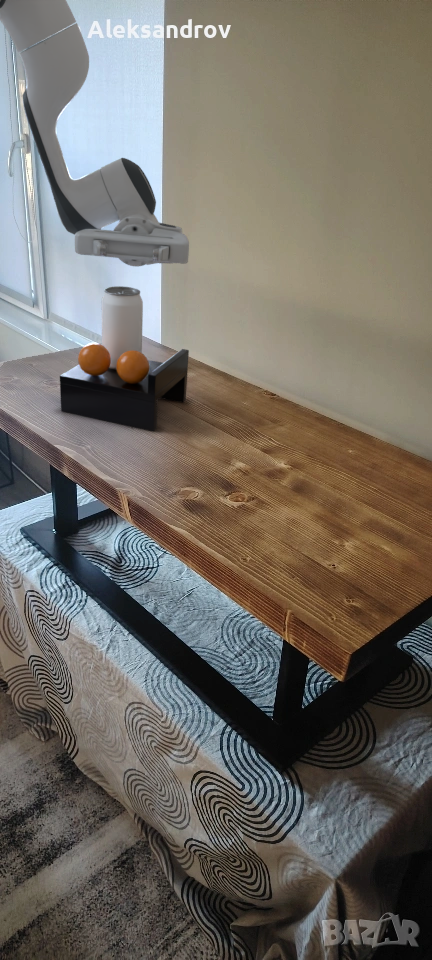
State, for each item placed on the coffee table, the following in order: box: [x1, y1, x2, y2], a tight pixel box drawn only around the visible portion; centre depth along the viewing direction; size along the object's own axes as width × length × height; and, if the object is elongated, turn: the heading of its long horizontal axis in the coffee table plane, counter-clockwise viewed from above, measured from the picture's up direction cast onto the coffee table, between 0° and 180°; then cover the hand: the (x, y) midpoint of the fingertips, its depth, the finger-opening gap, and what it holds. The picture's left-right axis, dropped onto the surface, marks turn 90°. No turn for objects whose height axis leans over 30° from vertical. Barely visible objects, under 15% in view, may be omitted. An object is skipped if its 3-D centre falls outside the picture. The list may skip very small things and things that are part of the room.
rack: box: [59, 342, 190, 432], centre depth 101 cm, size 16×14×11 cm
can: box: [100, 285, 144, 370], centre depth 100 cm, size 6×6×12 cm
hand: (129, 253), depth 106 cm, fingers open, 8 cm apart
